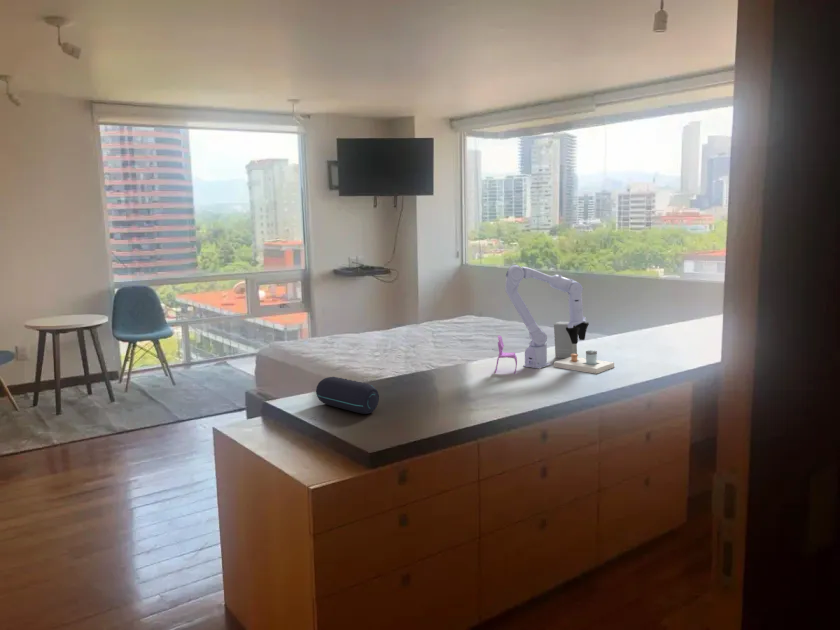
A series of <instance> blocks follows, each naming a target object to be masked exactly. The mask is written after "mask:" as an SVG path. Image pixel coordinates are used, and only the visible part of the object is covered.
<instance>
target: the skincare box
mask: <svg viewBox="0 0 840 630" xmlns="http://www.w3.org/2000/svg"><path fill="white" fill-rule="evenodd" d="M568 323H569V321H557V322H555V323H554V324H553V331H554V332H553V333H554V335H553V337H554V351H555V352H554V353H555V354H554V356H555V357H554V358H555V359H565V358H569V357H571V354H578V349H577V348H578V347H577V345H578V343H577V344H572V342H571V339H570V336H569V334H568V332H567V331H566V327H568ZM575 327H576V326H575Z"/></svg>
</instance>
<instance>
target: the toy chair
mask: <svg viewBox="0 0 840 630" xmlns="http://www.w3.org/2000/svg"><path fill="white" fill-rule="evenodd" d="M497 339H498V342H497V348H498V355H497V356H498V357H497V359H496V366H495V369H494V370H495V371H494V374H496V373H497V369H498V365H499V361H500V360H499V359H502V358H504V359H505V358H509V359H514V362H515V369H514V374H516V372H517V366H518V358H517V355H516V352H504V351H503V349H504V347H505V344H504V341H503V337H502V336H501V335H497Z"/></svg>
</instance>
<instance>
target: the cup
mask: <svg viewBox="0 0 840 630" xmlns="http://www.w3.org/2000/svg"><path fill="white" fill-rule="evenodd" d="M597 354H598V351H597V350H586V351H585V358H586V364H587V365H597V360H598V359H597V357H598V356H597Z"/></svg>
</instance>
